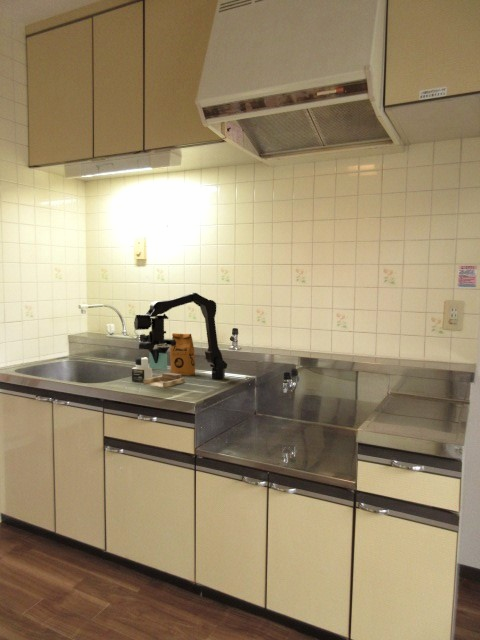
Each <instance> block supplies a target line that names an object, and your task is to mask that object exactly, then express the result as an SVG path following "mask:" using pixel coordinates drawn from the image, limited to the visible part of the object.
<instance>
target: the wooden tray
mask: <svg viewBox="0 0 480 640" xmlns="http://www.w3.org/2000/svg"><path fill="white" fill-rule="evenodd" d="M161 377H162V375H158V376H154V377H152V378H149V379H145V380H144V382H143V385H148V386H152V387H153V386H154V387H159V388H168V387H172V386H176V385H178V384H179V385H180V384H184V383H185V382H186V378H185V377H181V378H180V379H176V380H172V381H168V382H164V381H161Z"/></svg>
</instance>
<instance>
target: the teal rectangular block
mask: <svg viewBox="0 0 480 640" xmlns="http://www.w3.org/2000/svg"><path fill="white" fill-rule="evenodd" d="M148 366H149V368H152V369H155V370H163V371H164V370H167V369H168V354H167V353H166V354H165V353H159V357H158V362H157V363H155V362H154V359H153V357H152V354H151V352H148Z"/></svg>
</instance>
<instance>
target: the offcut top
mask: <svg viewBox="0 0 480 640" xmlns="http://www.w3.org/2000/svg"><path fill="white" fill-rule="evenodd" d="M161 376H162V378H170V379H179V378H182V375H181V374H175V373H171V372H164V373H162V374H161Z"/></svg>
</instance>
